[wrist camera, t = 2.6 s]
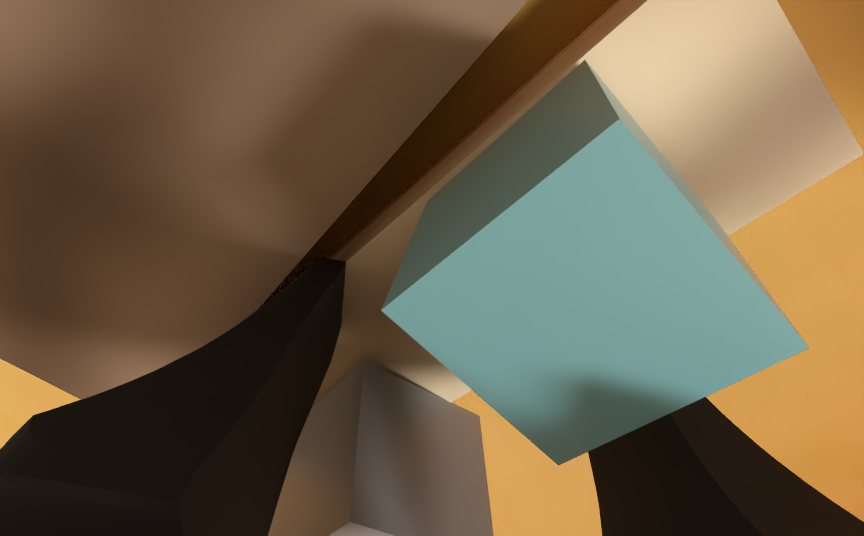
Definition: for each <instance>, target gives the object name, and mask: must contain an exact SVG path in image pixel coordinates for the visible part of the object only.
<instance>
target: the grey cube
mask: <svg viewBox="0 0 864 536" xmlns="http://www.w3.org/2000/svg"><path fill="white" fill-rule="evenodd" d="M268 536H493V528H492V519H491V511H490V502H489V494H488V486H487V477H486V469H485V460H484V452H483V443H482V435H481V426H480V418H479V416H478V415H476V414H474V413H472V412H470V411H468V410H466V409H464V408H462V407H460V406H457V405H455V404H453V403H450V402H448V401H447V400H445V399H443V398H441V397H439V396H437V395H434V394H432V393H430V392H428V391H426V390H424V389H422V388H420V387H418V386H416V385H413V384H411V383H409V382H407V381H405V380H403V379H401V378H399V377H397V376H395V375H393V374H390V373H388V372H386V371H384V370H382V369H380V368H378V367H376V366H374V365H372V364H370V363H367V362H365V361H364V362H363V363H362V364H361V365H359V366H358V367H357V368H356V369H355V370H354V371H353V372H352V373H351V374H349V375H348V376H347V377H346V378H345V379H344V380H343V381H342V382H341V383H340V384H338V385H337V386H336V387H335V388H334V389H333V390H332V391H331V392H330V393H328V394H327V395H326V396H325V397H324V398H323V399H322V400H321V401H320V402H318V403H317V404H316V405H315V406H314V407H313V408H312V409H311V410H310V413H309V415H308V418H307V420H306V422H305V425H304V427H303V429H302V432H301V434H300V436H299V439H298V441H297V444H296V447H295V449H294V452H293V455H292V458H291V461H290V464H289V467H288V471H287V474H286V477H285V480H284V484H283V487H282V490H281V493H280V496H279V500H278V503H277V506H276V510H275V513H274V517H273V520H272V523H271V527H270V530H269V533H268Z"/></svg>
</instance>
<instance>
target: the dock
mask: <svg viewBox="0 0 864 536" xmlns="http://www.w3.org/2000/svg"><path fill="white" fill-rule="evenodd" d="M527 1H528V0H0V359H2V360H4V361H6V362H8V363H10V364H12V365H14V366H16V367H18V368H20V369H22V370H24V371H26V372H28V373H30V374H32V375H34V376H36V377H38V378H40V379H42V380H44V381H46V382H48V383H50V384H52V385H54V386H56V387H58V388H60V389H61V390H63V391H65V392H67V393H69V394H71V395H73V396H75V397H77V398H79V399H81V400H82V399H85V398H88V397H91V396H93V395H96V394H99V393H101V392H104V391H107V390H109V389H112V388H114V387H117V386H119V385H122V384H124V383H127V382H129V381H132V380H134V379H137V378H139V377H141V376H143V375H146V374H148V373H150V372H153V371H155V370H157V369H159V368H161V367H163V366H165V365H167V364H169V363H171V362H173V361H175V360H177V359H179V358H181V357H183V356H185V355H187V354H189V353H191V352H193V351H195V350H197V349H199V348H200V347H202V346H204V345H206V344H207V343H209V342H211V341H212V340H214V339H216V338H217V337H219V336H221V335H222V334H224V333H225V332H227V331H228V330H230V329H231V328H233V327H234V326H236V325H237V324H239V323H240V322H242V321H243V320H244V319H246V318H247V317H248V316H250V315H251V314H253V313H254V312H255V311H257V310H258V308H259V307H260V306H261V305H262V304H263V303H264V302H265V300H266V299H267V298H268V297H269V296H270V295H271V294H272V292H273V291H274V290H275V289H276V288H277V287H278V286H279V284H280V283H281V282H282V281H283V280H284V279H285V278H286V276H287V275H288V274H289V273H290V272H291V271H292V270H293V268H294V267H295V266H296V265H297V264H298V263H299V262H300V260H301V259H302V258H303V257H304V256H305V255H306V254H307V252H308V251H309V250H310V249H311V248H312V247H313V246H314V244H315V243H316V242H317V241H318V240H319V239H320V238H321V236H322V235H323V234H324V233H325V232H326V231H327V230H328V228H329V227H330V226H331V225H332V224H333V223H334V222H335V220H336V219H337V218H338V217H339V216H340V215H341V214H342V212H343V211H344V210H345V209H346V208H347V207H348V206H349V204H350V203H351V202H352V201H353V200H354V199H355V198H356V196H357V195H358V194H359V193H360V192H361V191H362V190H363V188H364V187H365V186H366V185H367V184H368V183H369V182H370V181H371V179H372V178H373V177H374V176H375V175H376V174H377V173H378V171H379V170H380V169H381V168H382V167H383V166H384V165H385V163H386V162H387V161H388V160H389V159H390V158H391V157H392V155H393V154H394V153H395V152H396V151H397V150H398V149H399V147H400V146H401V145H402V144H403V143H404V142H405V141H406V139H407V138H408V137H409V136H410V135H411V134H412V133H413V131H414V130H415V129H416V128H417V127H418V126H419V125H420V123H421V122H422V121H423V120H424V119H425V118H426V117H427V115H428V114H429V113H430V112H431V111H432V110H433V109H434V107H435V106H436V105H437V104H438V103H439V102H440V101H441V99H442V98H443V97H444V96H445V95H446V94H447V93H448V91H449V90H450V89H451V88H452V87H453V86H454V85H455V83H456V82H457V81H458V80H459V79H460V78H461V77H462V75H463V74H464V73H465V72H466V71H467V70H468V69H469V67H470V66H471V65H472V64H473V63H474V62H475V61H476V59H477V58H478V57H479V56H480V55H481V54H482V53H483V51H484V50H485V49H486V48H487V47H488V46H489V45H490V43H491V42H492V41H493V40H494V39H495V38H496V37H497V35H498V34H499V33H500V32H501V31H502V30H503V29H504V27H505V26H506V25H507V24H508V23H509V22H510V21H511V19H512V18H513V17H514V16H515V15H516V14H517V13H518V11H519V10H520V9H521V8H522V7H523V6H524V5H525V3H526V2H527Z"/></svg>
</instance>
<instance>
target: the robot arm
mask: <svg viewBox="0 0 864 536" xmlns="http://www.w3.org/2000/svg"><path fill="white" fill-rule="evenodd" d="M345 269H346V261H340V260H334V259H329V258H323V257H321V258H319V259H317V260H316V261H315V262H314V263H313V264H312V265H311V266H310V267H308V268H307V269H306V270H305V271H304V272H303V273H302V274H301V275H300V276H299V277H297V278H296V279H295V280H294V281H293V282H292V283H291V284H289V285H288V286H287V287H286V288H285V289H283V290H282V291H281V292H280V293H279V294H277V295H276V296H275V297H274V298H272V299H271V300H270V301H269V302H267V303H266V304H265V305H264V306H262V307H261V308H260V309H258V310H257V311H255V312H254V313H253V314H251V315H250V316H248V317H247V318H246V319H244V320H243V321H242V322H240V323H239V324H237V325H236V326H234V327H233V328H231V329H230V330H228V331H227V332H225V333H224V334H222V335H221V336H219V337H217V338H216V339H214V340H212V341H211V342H209V343H207V344H206V345H204V346H202V347H200V348H199V349H197V350H195V351H193V352H191V353H189V354H187V355H185V356H183V357H181V358H179V359H177V360H175V361H173V362H171V363H169V364H167V365H165V366H163V367H161V368H159V369H157V370H155V371H153V372H150V373H148V374H146V375H143V376H141V377H139V378H137V379H134V380H132V381H129V382H127V383H124V384H122V385H119V386H117V387H114V388H112V389H109V390H107V391H104V392H101V393H99V394H96V395H93V396H91V397H88V398H85V399H82V400H79V401H76V402H73V403H70V404H67V405H64V406H61V407H58V408H55V409H52V410H49V411H46V412H43V413H39V414H36V415H33V416H32V417H31V418H30V419H29V420H28V421H27V422H26V423H25V424H24V425H23V426H22V427H21V428H20V429H19V430H18V431H17V432H16V433H15V434H14V435H13V436H12V437H11V438H10V439H9V440H8V442H7V443H6V444H5V445H4V446H3V447H2V448H1V449H0V536H268V533H269V530H270V527H271V523H272V520H273V517H274V513H275V510H276V506H277V503H278V500H279V496H280V493H281V490H282V487H283V484H284V480H285V477H286V474H287V471H288V467H289V464H290V461H291V458H292V455H293V452H294V449H295V447H296V444H297V441H298V439H299V436H300V434H301V432H302V429H303V427H304V425H305V422H306V420H307V418H308V415H309V413H310V410H311V408H312V406H313V403H314V401H315V399H316V396H317V394H318V392H319V389H320V387H321V385H322V382H323V380H324V377H325V375H326V373H327V370H328V368H329V365H330V363H331V360H332V357H333V354H334V350H335V347H336V343H337V340H338V336H339V332H340V329H341V321H342V308H343V295H344V282H345ZM588 454H589V458H590V463H591V467H592V472H593V476H594V481H595V486H596V491H597V497H598V502H599V509H600V518H601V527H602V536H864V522H863V521H861V520H860V519H858V518H857V517H855V516H854V515H852V514H851V513H849V512H848V511H846V510H845V509H843V508H842V507H840V506H839V505H837V504H836V503H834V502H833V501H831V500H830V499H828V498H827V497H826V496H824V495H823V494H821V493H820V492H818V491H817V490H816V489H814V488H813V487H811V486H810V485H809V484H807V483H806V482H805V481H803V480H802V479H801V478H799V477H798V476H797V475H795V474H794V473H793V472H791V471H790V470H789V469H788V468H786V467H785V466H784V465H782V464H781V463H780V462H778V461H777V460H776V459H774V458H773V457H772V456H771V455H770V454H768V453H767V452H766V451H765V450H763V449H762V448H761V447H760V446H758V445H757V444H756V443H755V442H754V441H753V440H752V439H750V438H749V437H748V436H747V435H746V434H745V433H744V432H742V431H741V430H740V429H739V428H738V427H737V426H736V425H734V424H733V423H732V422H731V421H730V420H729V419H728V418H727V417H726V416H725V415H723V414H722V413H721V412H720V411H719V410H718V409H717V408H716V407H715V406H714V405H713V404H712V403H711V402H710V401H709V400H708V399H707V398H706V397H704V398H702V399H699V400H697V401H695V402H693V403H691V404H689V405H687V406H684V407H682V408H680V409H678V410H676V411H674V412H672V413H670V414H667V415H665V416H663V417H661V418H659V419H657V420H655V421H652V422H650V423H648V424H646V425H644V426H642V427H640V428H637V429H635V430H633V431H631V432H629V433H627V434H625V435H622V436H620V437H618V438H616V439H614V440H612V441H610V442H607V443H605V444H603V445H601V446H599V447H597V448H595V449H592V450H590V451H588Z"/></svg>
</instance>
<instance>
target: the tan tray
mask: <svg viewBox="0 0 864 536" xmlns="http://www.w3.org/2000/svg"><path fill="white" fill-rule="evenodd" d="M584 60H586V61H587V63H588V64H589V65H590V66H591V67H592V69H593V70H594V71H595V72H596V74H597V75H598V76H599V77H600V78H601V80H602V81H603V82H604V83H605V85H606V86H607V87H608V88H609V89H610V91H611V92H612V93H613V94H614V96H615V97H616V98H617V99H618V100H619V102H620V103H621V104H622V105H623V107H624V108H625V109H626V110H627V111H628V113H629V114H630V115H631V116H632V118H633V119H634V120H635V121H636V122H637V124H638V125H639V126H640V127H641V129H642V130H643V131H644V132H645V133H646V135H647V136H648V137H649V138H650V140H651V141H652V142H653V143H654V144H655V146H656V147H657V148H658V149H659V151H660V152H661V153H662V154H663V155H664V157H665V158H666V159H667V160H668V162H669V163H670V164H671V165H672V166H673V168H674V169H675V170H676V171H677V173H678V174H679V175H680V176H681V177H682V179H683V180H684V181H685V182H686V184H687V185H688V186H689V187H690V188H691V190H692V191H693V192H694V193H695V195H696V196H697V197H698V198H699V199H700V201H701V202H702V203H703V204H704V206H705V207H706V208H707V209H708V210H709V212H710V213H711V214H712V215H713V217H714V218H715V219H716V221H717V222H718V223H719V225H720V226H721V227H722V229H723V230H724V232H725V233H726V234H727V236H729V235H730V234H732V233H733V232H735V231H737V230H738V229H740V228H742V227H743V226H745V225H747V224H748V223H750V222H752V221H753V220H755V219H757V218H758V217H760V216H762V215H763V214H765V213H767V212H768V211H770V210H772V209H773V208H775V207H777V206H778V205H780V204H782V203H783V202H785V201H787V200H788V199H790V198H792V197H793V196H795V195H797V194H798V193H800V192H802V191H803V190H805V189H807V188H808V187H810V186H812V185H813V184H815V183H817V182H818V181H820V180H822V179H823V178H825V177H826V176H828V175H830V174H831V173H833V172H835V171H836V170H838V169H840V168H841V167H843V166H845V165H846V164H848V163H850V162H851V161H853V160H855V159H856V158H858V157H860V156H861V155H863V154H864V153H863V151H862V149H861V147H860V146H859V144H858V142H857V140H856V139H855V137H854V135H853V133H852V132H851V130H850V128H849V126H848V124H847V123H846V121H845V119H844V117H843V116H842V114H841V112H840V110H839V109H838V107H837V105H836V103H835V102H834V100H833V98H832V96H831V95H830V93H829V91H828V89H827V88H826V86H825V84H824V82H823V81H822V79H821V77H820V75H819V73H818V72H817V70H816V68H815V66H814V65H813V63H812V61H811V59H810V58H809V56H808V54H807V52H806V51H805V49H804V47H803V45H802V44H801V42H800V40H799V38H798V37H797V35H796V33H795V31H794V29H793V28H792V26H791V24H790V22H789V21H788V19H787V17H786V15H785V14H784V12H783V10H782V8H781V7H780V5H779V3H778V1H777V0H618V1H617V2H616V3H614V4H613V5H612V6H611V7H610V8H609V9H608V10H607V11H605V12H604V13H603V14H602V15H601V16H600V17H599V18H598V19H596V20H595V21H594V22H593V23H592V24H591V25H590V26H589V27H587V28H586V29H585V30H584V31H583V32H582V33H581V34H580V35H578V36H577V37H576V38H575V39H574V40H573V41H572V42H570V43H569V44H568V45H567V46H566V47H565V48H564V49H563V50H561V51H560V52H559V53H558V54H557V55H556V56H555V57H554V58H552V59H551V60H550V61H549V62H548V63H547V64H546V65H545V66H543V67H542V68H541V69H540V70H539V71H538V72H537V73H536V74H534V75H533V76H532V77H531V78H530V79H529V80H528V81H527V82H525V83H524V84H523V85H522V86H521V87H520V88H519V89H517V90H516V91H515V92H514V93H513V94H512V95H511V96H510V97H508V98H507V99H506V100H505V101H504V102H503V103H502V104H501V105H499V106H498V107H497V108H496V109H495V110H494V111H493V112H492V113H490V114H489V115H488V116H487V117H486V118H485V119H484V120H483V121H481V122H480V123H479V124H478V125H477V126H476V127H475V128H473V129H472V130H471V131H470V132H469V133H468V134H467V135H466V136H464V137H463V138H462V139H461V140H460V141H459V142H458V143H457V144H455V145H454V146H453V147H452V148H451V149H450V150H449V151H448V152H446V153H445V154H444V155H443V156H442V157H441V158H440V159H439V160H437V161H436V162H435V163H434V164H433V165H432V166H431V167H430V168H428V169H427V170H426V171H425V172H424V173H423V174H422V175H420V176H419V177H418V178H417V179H416V180H415V181H414V182H413V183H411V184H410V185H409V186H408V187H407V188H406V189H405V190H404V191H402V192H401V193H400V194H399V195H398V196H397V197H396V198H395V199H393V200H392V201H391V202H390V203H389V204H388V205H387V206H386V207H384V208H383V209H382V210H381V211H380V212H379V213H378V214H376V215H375V216H374V217H373V218H372V219H371V220H370V221H369V222H367V223H366V224H365V225H364V226H363V227H362V228H361V229H360V230H358V231H357V232H356V233H355V234H354V235H353V236H352V237H351V238H349V239H348V240H347V241H346V242H345V243H344V244H343V245H342V246H340V247H339V248H338V249H337V250H336V251H335V252H334V253H333V254H331V255H330V256H329V257H328V258H329V259H334V260H340V261H346V269H345V282H344V295H343V308H342V321H341V329H340V332H339V336H338V340H337V343H336V347H335V350H334V354H333V357H332V360H331V363H330V365H329V368H328V370H327V373H326V375H325V377H324V380H323V382H322V385H321V387H320V389H319V392H318V394H317V396H316V399H315V401H314V403H313V406H312V408H313V407H314V406H315V405H316V404H317V403H318V402H320V401H321V400H322V399H323V398H324V397H325V396H326V395H327V394H328V393H330V392H331V391H332V390H333V389H334V388H335V387H336V386H337V385H338V384H340V383H341V382H342V381H343V380H344V379H345V378H346V377H347V376H348V375H349V374H351V373H352V372H353V371H354V370H355V369H356V368H357V367H358V366H359V365H361V364H362V363H363V362H364V361H365V362H367V363H370V364H372V365H374V366H376V367H378V368H380V369H382V370H384V371H386V372H388V373H390V374H393V375H395V376H397V377H399V378H401V379H403V380H405V381H407V382H409V383H411V384H413V385H416V386H418V387H420V388H422V389H424V390H426V391H428V392H430V393H432V394H434V395H437V396H439V397H441V398H443V399H445V400H447V401H448V402H450V403H451V402H453V401H455V400H456V399H458V398H459V397H461V396H463V395H464V394H466V393H468V392H469V391H471V390H472V389H470V388H469V387H468V386H467V385H466V384H465V383H464V382H462V381H461V380H460V379H459V378H458V377H457V376H456V375H454V374H453V373H452V372H451V371H450V370H449V369H448V368H446V367H445V366H444V365H443V364H442V363H441V362H440V361H438V360H437V359H436V358H435V357H434V356H433V355H432V354H430V353H429V352H428V351H427V350H426V349H425V348H424V347H422V346H421V345H420V344H419V343H418V342H417V341H416V340H414V339H413V338H412V337H411V336H410V335H409V334H408V333H406V332H405V331H404V330H403V329H402V328H401V327H400V326H398V325H397V324H396V323H395V322H394V321H393V320H391V319H390V318H389V317H388V316H387V315H386V314H385V313H383V312H382V311H381V309H382V307H383V304H384V302H385V300H386V297H387V295H388V292H389V290H390V288H391V285H392V283H393V281H394V278H395V276H396V274H397V271H398V269H399V267H400V264H401V262H402V260H403V257H404V255H405V253H406V250H407V248H408V246H409V243H410V241H411V239H412V236H413V234H414V232H415V229H416V227H417V225H418V222H419V220H420V218H421V215H422V213H423V211H424V208H425V206H426V203H427V201H428V200H429V199H430V198H431V197H433V196H434V195H435V194H436V193H437V192H438V191H439V190H440V189H441V188H443V187H444V186H445V185H446V184H447V183H448V182H449V181H450V180H451V179H453V178H454V177H455V176H456V175H457V174H458V173H459V172H460V171H462V170H463V169H464V168H465V167H466V166H467V165H468V164H469V163H470V162H472V161H473V160H474V159H475V158H476V157H477V156H478V155H479V154H480V153H482V152H483V151H484V150H485V149H486V148H487V147H488V146H489V145H490V144H492V143H493V142H494V141H495V140H496V139H497V138H498V137H499V136H500V135H502V134H503V133H504V132H505V131H506V130H507V129H508V128H509V127H511V126H512V125H513V124H514V123H515V122H516V121H517V120H518V119H519V118H521V117H522V116H523V115H524V114H525V113H526V112H527V111H528V110H529V109H531V108H532V107H533V106H534V105H535V104H536V103H537V102H538V101H539V100H541V99H542V98H543V97H544V96H545V95H546V94H547V93H548V92H550V91H551V90H552V89H553V88H554V87H555V86H556V85H557V84H558V83H560V82H561V81H562V80H563V79H564V78H565V77H566V76H567V75H568V74H570V73H571V72H572V71H573V70H574V69H575V68H576V67H577V66H578V65H580V64H581V63H582V62H583V61H584ZM312 408H311V409H312Z"/></svg>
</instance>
